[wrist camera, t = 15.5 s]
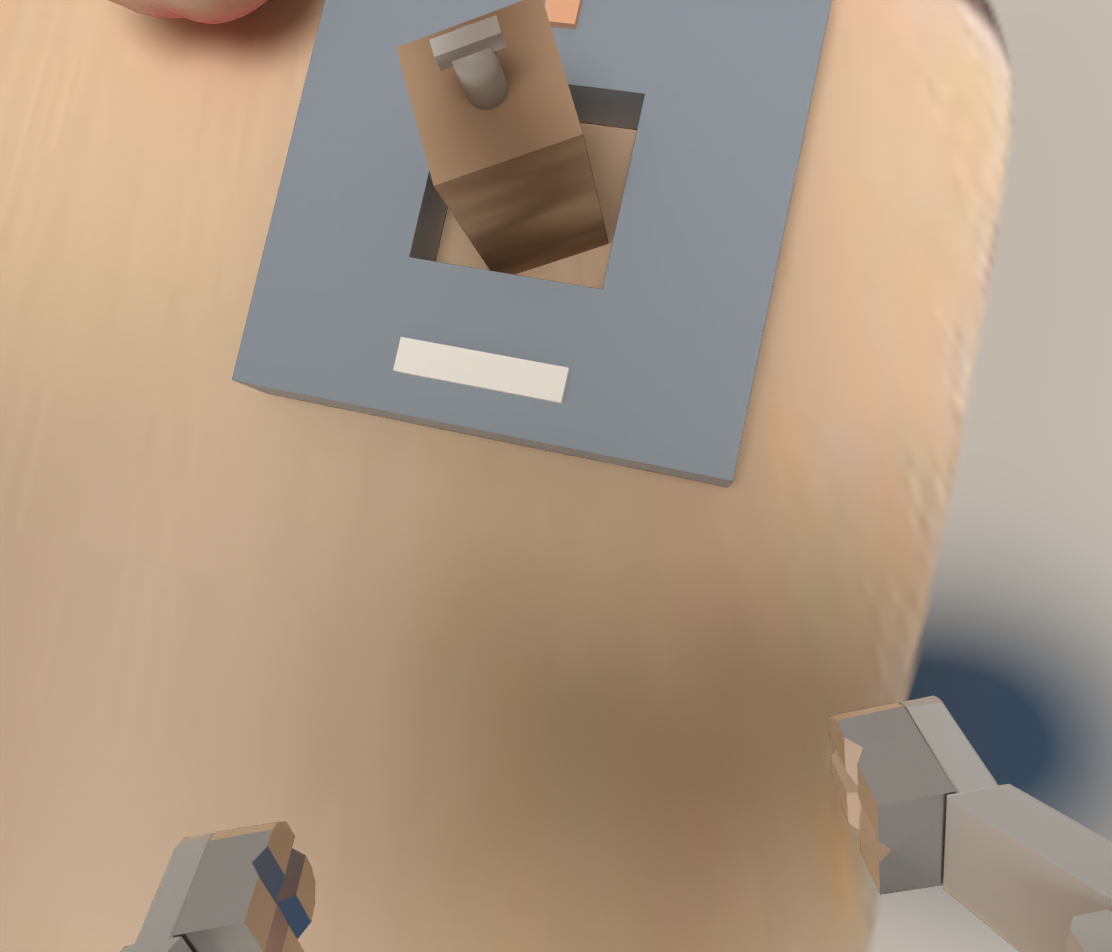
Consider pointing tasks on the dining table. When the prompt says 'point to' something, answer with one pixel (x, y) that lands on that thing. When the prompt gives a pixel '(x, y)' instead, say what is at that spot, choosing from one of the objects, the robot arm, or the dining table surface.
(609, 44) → the socket plate
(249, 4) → the decorative fruit
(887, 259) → the dining table surface
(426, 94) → the wooden peg with knob
